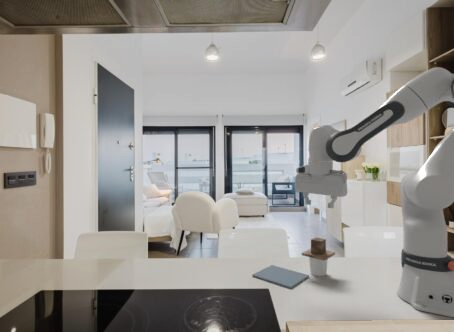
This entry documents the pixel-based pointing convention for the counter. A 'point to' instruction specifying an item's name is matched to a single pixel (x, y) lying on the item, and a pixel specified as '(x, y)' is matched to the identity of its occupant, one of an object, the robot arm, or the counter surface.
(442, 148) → the robot arm
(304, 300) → the counter surface
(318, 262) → the shot glass
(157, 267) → the counter surface
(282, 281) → the mat
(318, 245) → the brown wooden pedestal
